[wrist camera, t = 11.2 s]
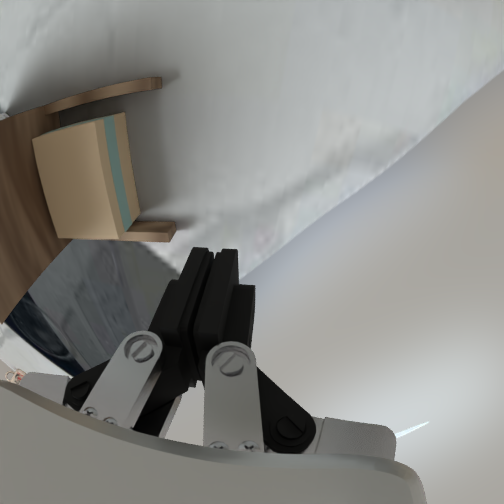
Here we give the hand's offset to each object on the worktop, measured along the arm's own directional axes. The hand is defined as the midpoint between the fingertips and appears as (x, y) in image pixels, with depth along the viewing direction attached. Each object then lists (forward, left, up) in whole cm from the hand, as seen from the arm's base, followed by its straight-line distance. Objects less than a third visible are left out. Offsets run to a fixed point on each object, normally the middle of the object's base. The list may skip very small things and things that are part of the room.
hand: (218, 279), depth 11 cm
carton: (+18, +1, -19) cm, 26 cm away
